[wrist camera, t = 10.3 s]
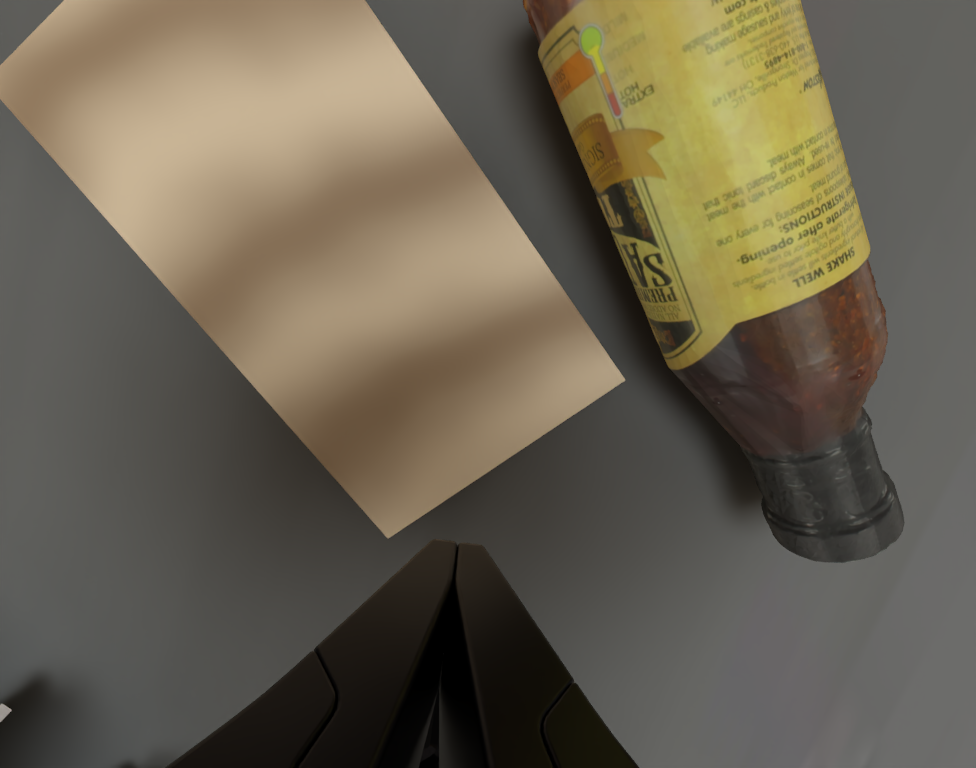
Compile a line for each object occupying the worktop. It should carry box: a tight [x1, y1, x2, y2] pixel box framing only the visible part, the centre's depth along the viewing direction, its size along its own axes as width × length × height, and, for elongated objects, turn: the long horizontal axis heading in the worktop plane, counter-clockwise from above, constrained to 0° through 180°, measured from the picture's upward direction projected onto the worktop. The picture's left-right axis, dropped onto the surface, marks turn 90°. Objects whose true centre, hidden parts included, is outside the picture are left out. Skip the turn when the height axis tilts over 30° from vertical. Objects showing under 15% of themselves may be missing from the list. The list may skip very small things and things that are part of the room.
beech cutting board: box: [0, 0, 625, 538], centre depth 18 cm, size 20×11×1 cm, turn 36°
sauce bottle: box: [523, 0, 904, 563], centre depth 16 cm, size 6×6×20 cm
